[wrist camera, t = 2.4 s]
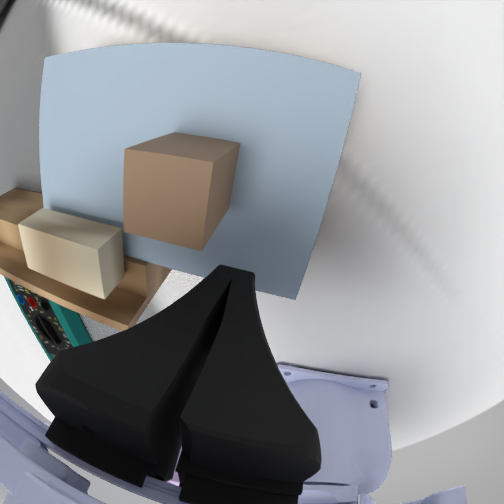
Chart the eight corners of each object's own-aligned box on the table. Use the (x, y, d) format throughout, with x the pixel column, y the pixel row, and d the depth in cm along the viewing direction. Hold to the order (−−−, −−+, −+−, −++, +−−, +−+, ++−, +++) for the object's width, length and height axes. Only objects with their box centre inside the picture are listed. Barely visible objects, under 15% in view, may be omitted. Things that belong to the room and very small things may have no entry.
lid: (351, 77, 9) (390, 60, 5) (296, 275, 13) (291, 358, 9) (69, 57, 9) (-9, 61, 5) (67, 217, 14) (7, 262, 10)
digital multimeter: (59, 250, 19) (35, 269, 16) (115, 373, 26) (103, 393, 24) (14, 247, 20) (-6, 263, 18) (69, 358, 27) (57, 375, 25)
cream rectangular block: (122, 228, 11) (97, 249, 9) (125, 275, 12) (104, 299, 11) (42, 207, 11) (17, 223, 10) (49, 249, 12) (28, 267, 11)
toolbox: (343, 81, 11) (379, 65, 5) (287, 286, 16) (277, 375, 11) (14, 74, 12) (-55, 88, 6) (18, 214, 17) (-36, 252, 12)
